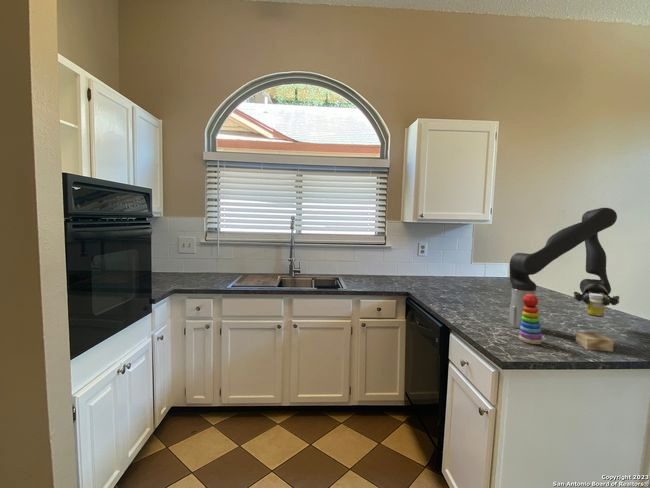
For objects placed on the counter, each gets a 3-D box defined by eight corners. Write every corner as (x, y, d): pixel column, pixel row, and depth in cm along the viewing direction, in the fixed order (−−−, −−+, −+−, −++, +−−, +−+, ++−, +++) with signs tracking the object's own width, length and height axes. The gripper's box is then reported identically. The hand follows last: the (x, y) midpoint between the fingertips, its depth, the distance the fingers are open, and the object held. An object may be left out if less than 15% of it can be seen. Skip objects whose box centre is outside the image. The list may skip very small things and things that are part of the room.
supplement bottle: (587, 314, 121) (587, 292, 120) (603, 316, 118) (604, 294, 117) (587, 317, 117) (588, 294, 116) (604, 319, 114) (605, 296, 113)
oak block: (586, 349, 115) (587, 338, 115) (575, 341, 123) (576, 331, 123) (613, 351, 113) (613, 340, 113) (600, 343, 121) (600, 333, 120)
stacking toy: (537, 338, 126) (538, 292, 125) (546, 345, 119) (548, 297, 118) (515, 336, 128) (516, 291, 127) (523, 344, 120) (524, 296, 119)
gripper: (573, 282, 132) (571, 289, 119) (619, 286, 123) (623, 294, 110) (572, 300, 133) (571, 309, 120) (619, 305, 123) (622, 315, 110)
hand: (596, 302), depth 115 cm, fingers closed on supplement bottle, 4 cm apart
